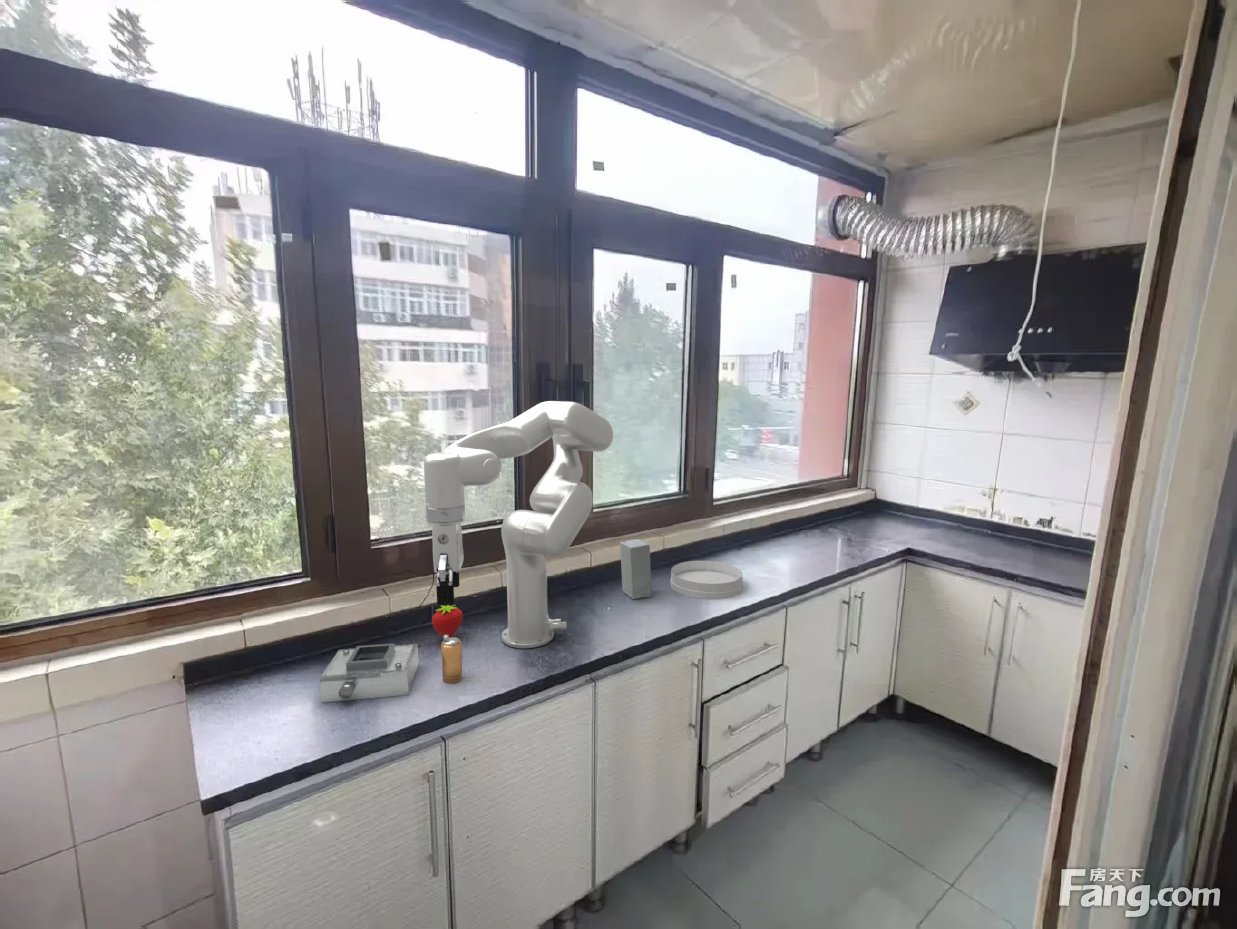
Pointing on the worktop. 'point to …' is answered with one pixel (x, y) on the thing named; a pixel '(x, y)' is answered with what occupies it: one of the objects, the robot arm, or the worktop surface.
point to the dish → (706, 579)
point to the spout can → (451, 659)
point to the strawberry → (447, 620)
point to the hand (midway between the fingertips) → (448, 595)
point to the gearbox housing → (370, 672)
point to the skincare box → (636, 568)
